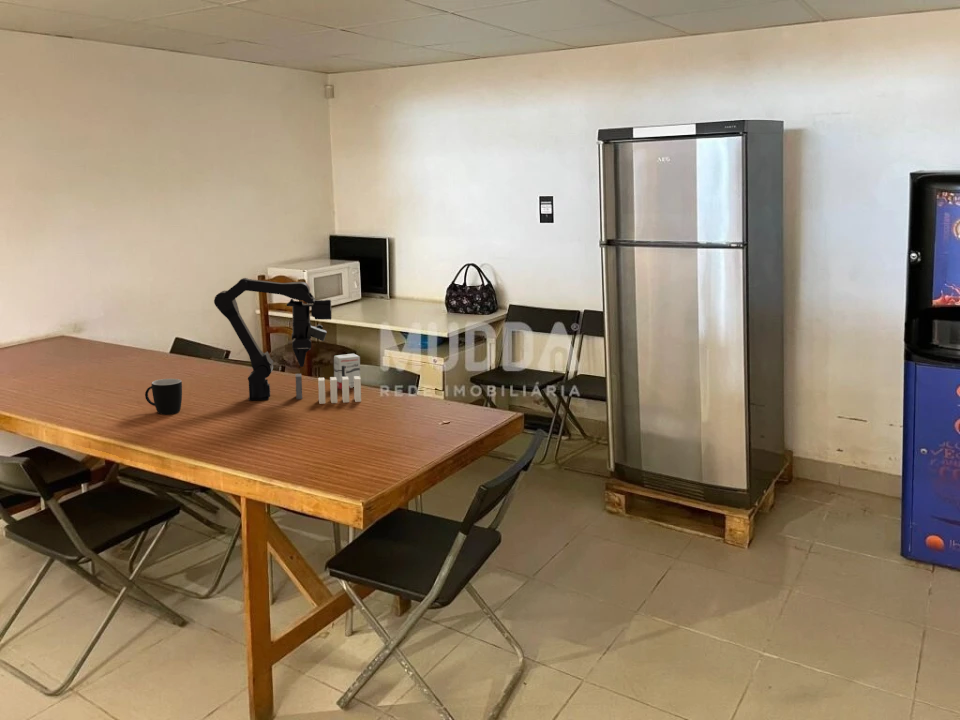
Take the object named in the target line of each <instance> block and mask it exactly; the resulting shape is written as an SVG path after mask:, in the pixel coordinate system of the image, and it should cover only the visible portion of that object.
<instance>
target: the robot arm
mask: <svg viewBox="0 0 960 720" xmlns="http://www.w3.org/2000/svg"><path fill="white" fill-rule="evenodd" d="M246 291H247V292H254V293H255V292H256V293H264V294H265V293H266V294H275V295H281V296H285V297H287V298H289V299H290V300H289V301H288V302H287V303H286V306H287V307H291V308H292V309H291V310H292V324H291V325H292V332H291V340H292V341H291V343H292V344H291V346H292V351H293V353H294V355H295V357H296V360H297V362H298V365H299V366H300V367H301V368H303V367H304V365H305V362H306V361H305V360H306V355H307V352H308V351H309V352H310V350H311V349H312V340H311V339H312V338H314V339H317V340H319V341H322V342H324V341H325V338H326V336H327V333H328V332H327V330H325V329H323V325H321V324H317V325H316V326H313V325H312V324H311V321H310V319H311V318H310V316H311V317H312V318H314V320H321V321H322V320H329V321H331V320H332V318H333V317H332V313H333V311H332V310H333V309H332V300H331V299H316V297H315V296H313V294H312V292H311V289H310V286H309V284H308V283H307V282H305V281H291V282H290V281H289V282H279V281H278V282H276V281H268V280H262V279H261V280H259V279H252V278H251V279H250V278H248V277H242V278H241V279H240V280H239V281H237V283H235V284H234V285H233V286H232V287H230V288H229V289H227V290H222V291H220V292H219V293H218V294H216V295H215V296H214V298H213V299H214V300H213V303H214V306H215V307H216V308H217V309H218V311H219V312H220V313H221V314H222V315H223V316H224V317H225V318H226V319H227V320H228V322H229V323H230V325H231V327H232V328H233V330H234V332H235V334H236V335H237V337H238V339H239V341H240V342H241V344H242V346H243V348H244V349H245V351H246V353H247V354H248V356H249V361H250V363H251V369H252V371H251V372H250V374H249V375H248V377H247V380H248V392H249V393H248V401H267V400H268V401H269V398H271V385H270V383H269V381H268V379H267V378H268V377H269V376H270V375H271V374H272V372H273V369H274V364H273V363H274V360H273V359H272V358H271V356H270V354H269V351H266V352H263V350H261V348H260V347H259V345H258V344H257V341H256V339H255V338H254V336H253V335H252V332H251V331H250V330H249V327H248V326H247V323H245V321H244V319H243V317H242V315H241V314H240V310H239V306H238V301H237V300H236V299H237V298H238V297H240V295H242V294H243V293H244V292H246ZM304 302H305V303H304ZM310 308H311V310H310ZM310 313H311V315H310Z"/></svg>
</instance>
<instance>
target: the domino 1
mask: <svg viewBox="0 0 960 720" xmlns="http://www.w3.org/2000/svg"><path fill="white" fill-rule="evenodd" d="M295 396H296V398H295V399H296V400H303V379H302V373H295Z"/></svg>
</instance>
